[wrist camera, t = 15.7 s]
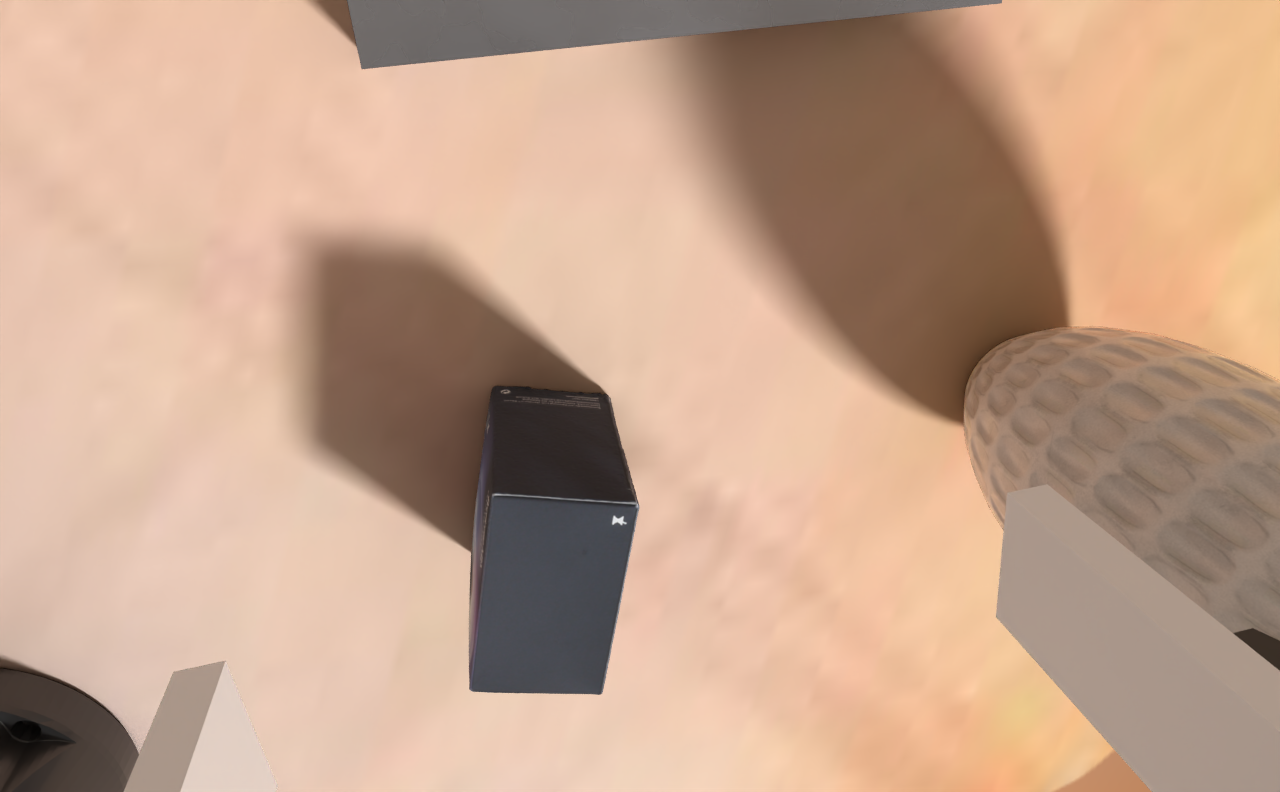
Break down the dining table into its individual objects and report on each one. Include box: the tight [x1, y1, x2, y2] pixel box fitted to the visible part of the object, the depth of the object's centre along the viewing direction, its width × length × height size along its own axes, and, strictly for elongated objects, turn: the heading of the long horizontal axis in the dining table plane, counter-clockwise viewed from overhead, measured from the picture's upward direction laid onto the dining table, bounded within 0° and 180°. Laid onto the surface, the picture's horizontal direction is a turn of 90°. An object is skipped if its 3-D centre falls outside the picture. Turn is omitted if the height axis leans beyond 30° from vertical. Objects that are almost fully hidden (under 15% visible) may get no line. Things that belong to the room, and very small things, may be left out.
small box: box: [469, 386, 639, 695], centre depth 41 cm, size 11×6×10 cm, turn 170°
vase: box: [964, 327, 1280, 641], centre depth 35 cm, size 13×13×28 cm
